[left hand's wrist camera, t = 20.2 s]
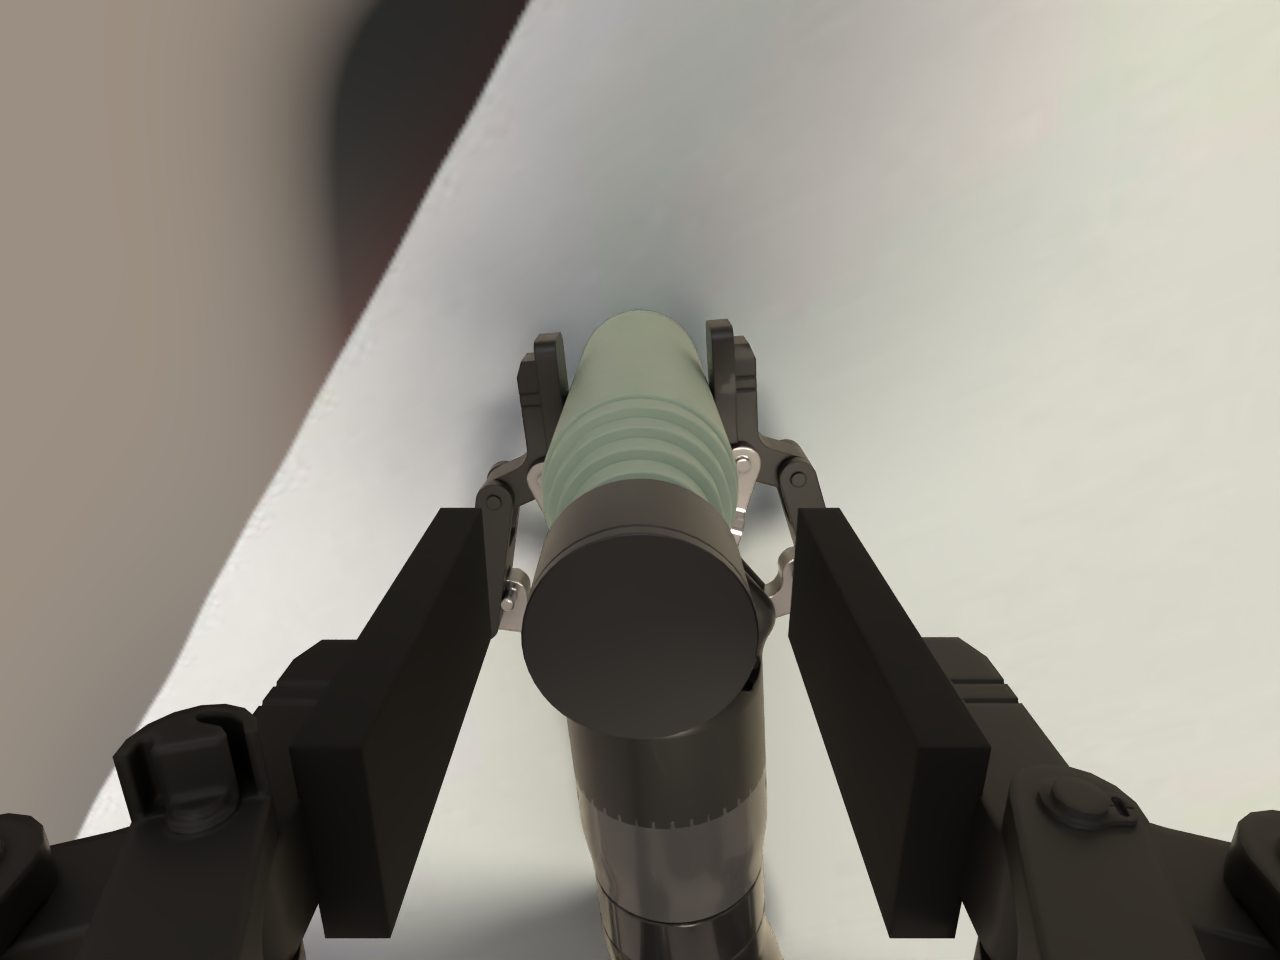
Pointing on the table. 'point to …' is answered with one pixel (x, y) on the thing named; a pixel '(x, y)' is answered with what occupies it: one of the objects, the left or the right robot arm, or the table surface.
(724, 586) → the cap
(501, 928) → the table surface
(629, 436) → the bottle
